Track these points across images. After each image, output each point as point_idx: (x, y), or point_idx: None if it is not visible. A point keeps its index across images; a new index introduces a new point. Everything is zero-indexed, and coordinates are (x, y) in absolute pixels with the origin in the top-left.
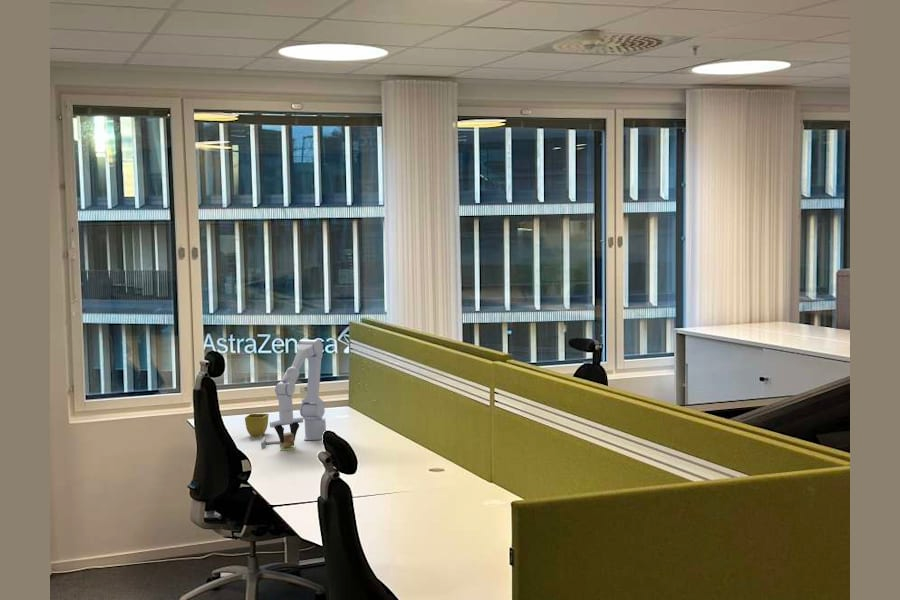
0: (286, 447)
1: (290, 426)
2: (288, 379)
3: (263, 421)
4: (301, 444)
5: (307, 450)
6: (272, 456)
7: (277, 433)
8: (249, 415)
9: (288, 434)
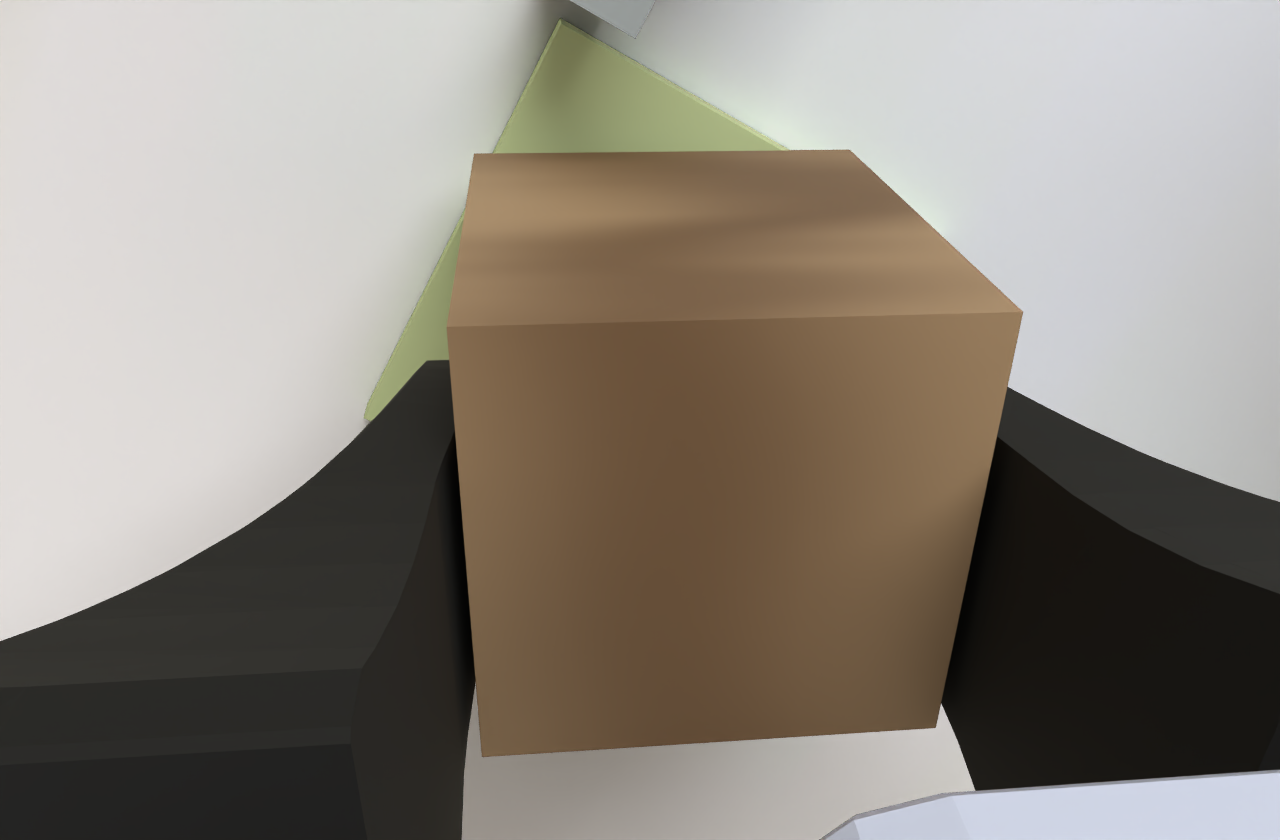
0: None
1: (1186, 673)
2: None
3: None
4: (1215, 110)
5: (892, 743)
6: None
7: (259, 518)
8: None
9: (727, 699)
